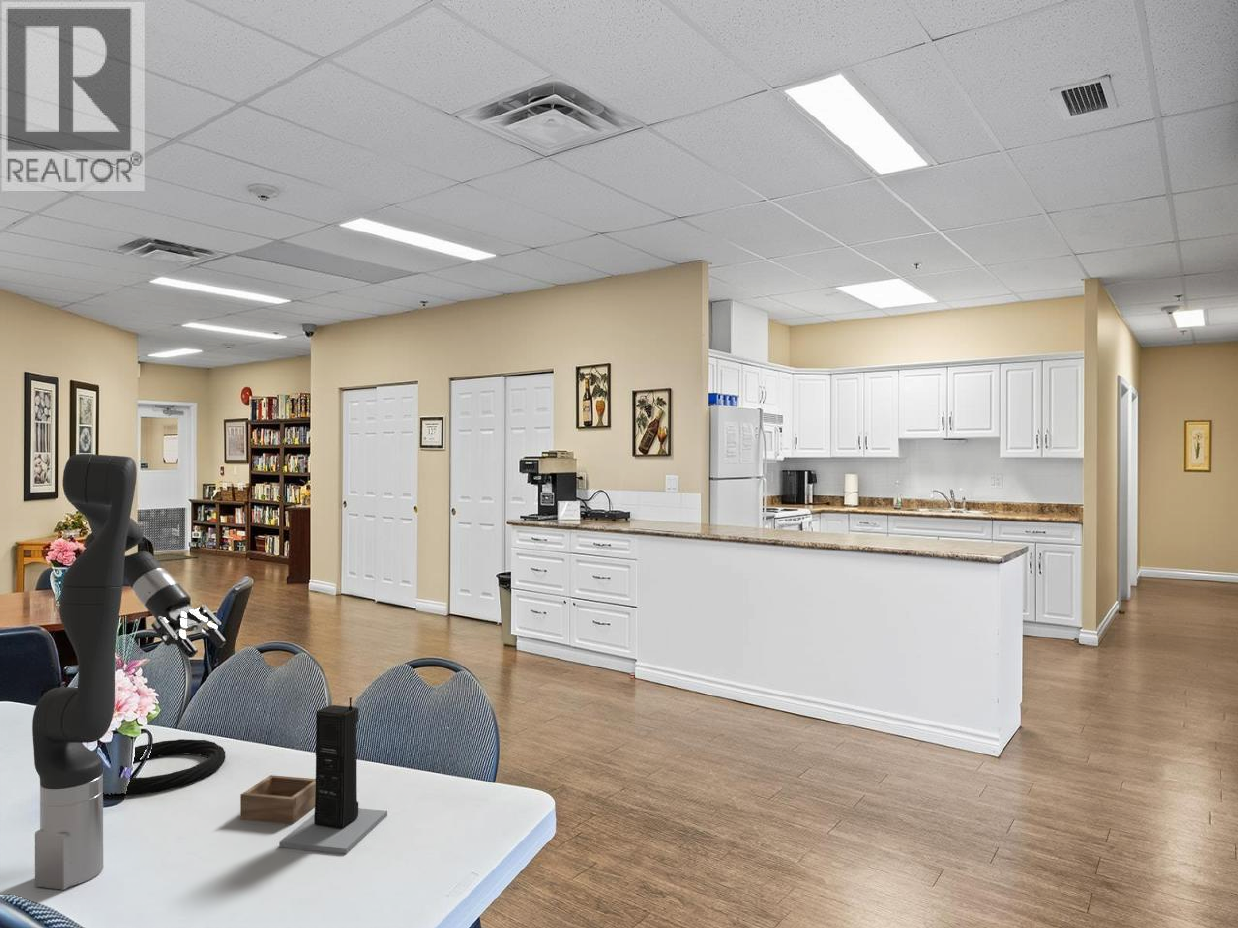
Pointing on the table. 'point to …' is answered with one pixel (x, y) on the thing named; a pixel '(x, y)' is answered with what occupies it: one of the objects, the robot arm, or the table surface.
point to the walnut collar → (278, 799)
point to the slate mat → (333, 833)
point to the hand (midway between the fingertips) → (208, 650)
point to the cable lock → (180, 777)
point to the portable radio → (336, 766)
